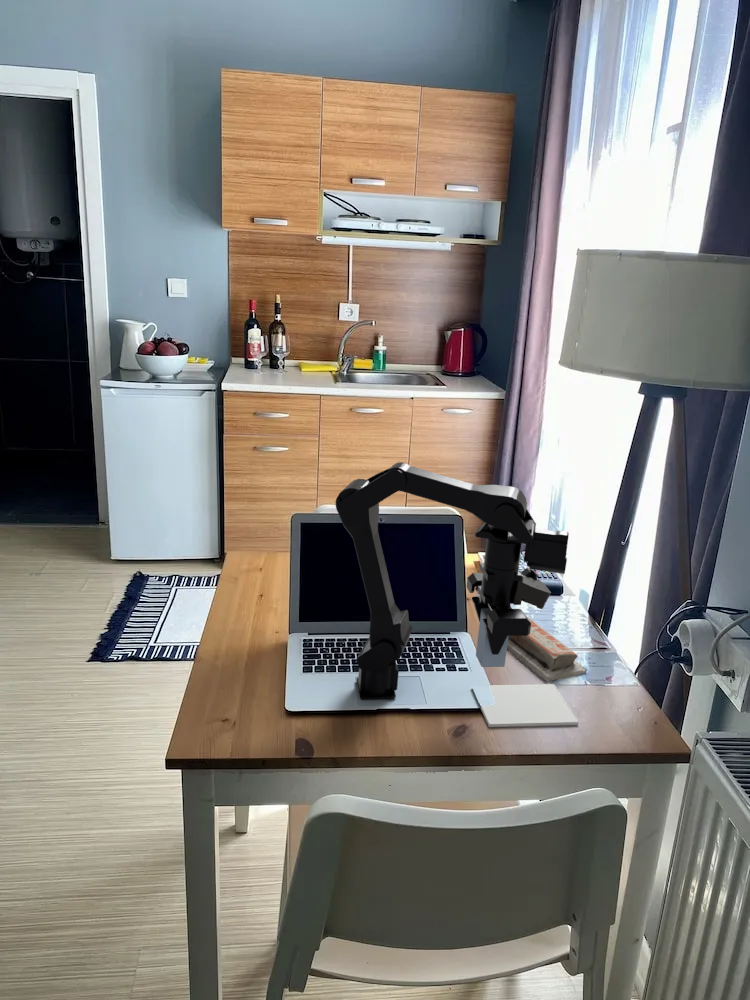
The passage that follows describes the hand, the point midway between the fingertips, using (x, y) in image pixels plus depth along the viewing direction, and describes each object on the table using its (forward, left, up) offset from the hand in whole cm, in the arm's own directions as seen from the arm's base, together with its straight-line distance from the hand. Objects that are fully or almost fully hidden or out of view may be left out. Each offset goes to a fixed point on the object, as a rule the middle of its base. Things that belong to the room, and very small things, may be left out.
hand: (491, 647), depth 131 cm
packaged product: (+17, +19, -13) cm, 29 cm away
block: (0, 0, -3) cm, 3 cm away
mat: (+8, +1, -13) cm, 15 cm away
